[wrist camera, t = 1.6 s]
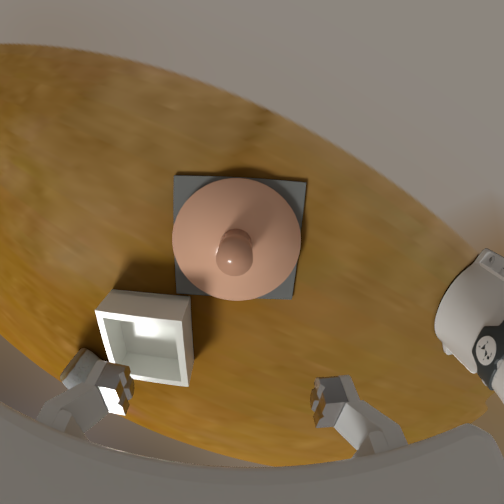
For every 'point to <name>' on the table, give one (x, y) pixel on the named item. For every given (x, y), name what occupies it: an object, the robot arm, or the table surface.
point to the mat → (287, 189)
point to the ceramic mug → (79, 368)
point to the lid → (236, 239)
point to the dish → (148, 335)
